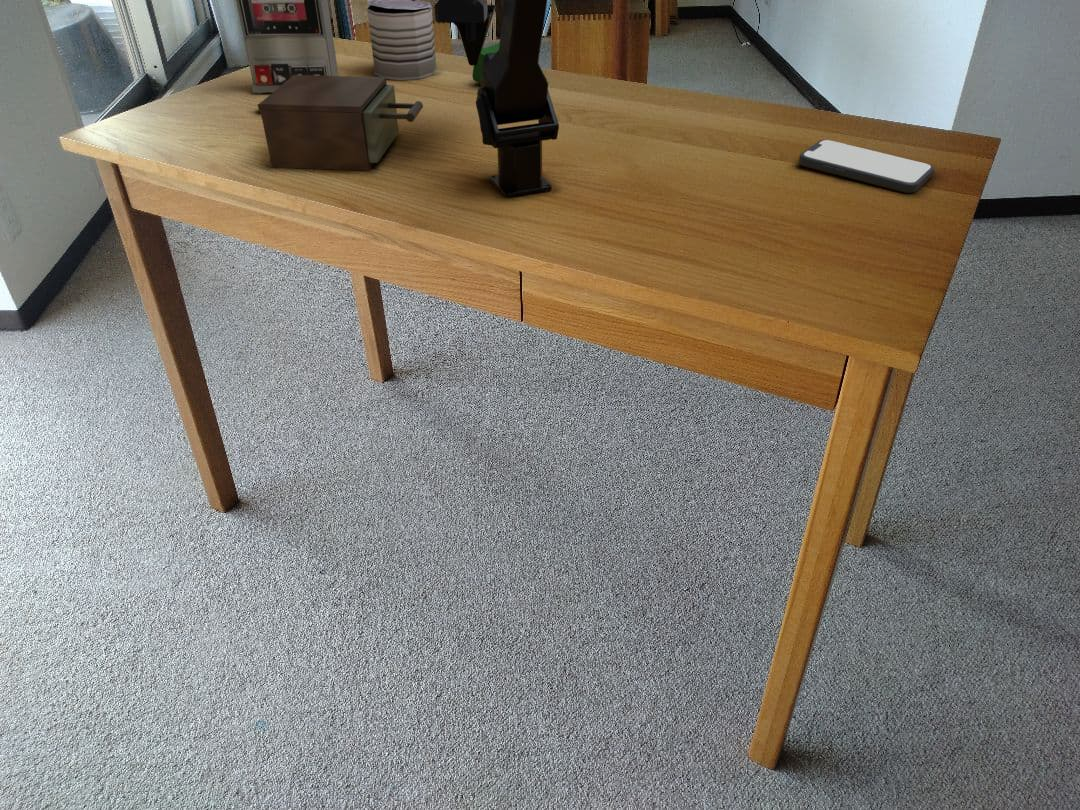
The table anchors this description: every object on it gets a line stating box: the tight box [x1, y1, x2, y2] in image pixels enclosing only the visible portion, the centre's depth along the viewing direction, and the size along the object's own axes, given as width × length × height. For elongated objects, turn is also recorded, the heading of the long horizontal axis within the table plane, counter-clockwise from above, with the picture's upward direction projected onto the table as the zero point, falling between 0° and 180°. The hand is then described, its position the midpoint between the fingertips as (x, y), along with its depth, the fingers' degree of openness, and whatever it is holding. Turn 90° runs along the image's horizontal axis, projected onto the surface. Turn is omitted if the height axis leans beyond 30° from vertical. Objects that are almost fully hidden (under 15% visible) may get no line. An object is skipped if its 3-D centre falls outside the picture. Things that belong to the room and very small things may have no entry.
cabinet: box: [258, 75, 388, 172], centre depth 116 cm, size 14×14×9 cm
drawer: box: [363, 84, 424, 164], centre depth 115 cm, size 17×12×7 cm
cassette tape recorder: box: [235, 0, 341, 95], centre depth 135 cm, size 14×6×25 cm, turn 92°
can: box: [366, 0, 437, 81], centre depth 147 cm, size 11×11×12 cm
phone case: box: [798, 139, 935, 194], centre depth 111 cm, size 9×2×16 cm
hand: (473, 64), depth 114 cm, fingers closed
